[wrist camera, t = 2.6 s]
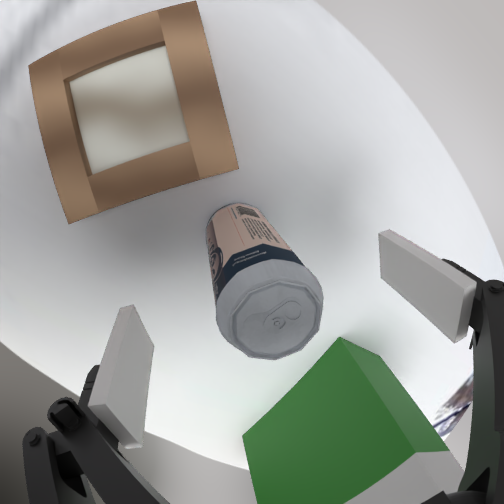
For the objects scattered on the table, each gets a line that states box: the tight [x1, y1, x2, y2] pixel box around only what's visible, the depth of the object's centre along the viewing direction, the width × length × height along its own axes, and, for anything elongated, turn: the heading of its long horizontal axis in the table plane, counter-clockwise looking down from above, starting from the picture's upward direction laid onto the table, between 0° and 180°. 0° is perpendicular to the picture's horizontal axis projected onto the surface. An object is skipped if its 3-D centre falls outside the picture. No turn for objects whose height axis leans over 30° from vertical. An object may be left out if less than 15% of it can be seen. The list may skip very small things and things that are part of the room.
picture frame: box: [28, 1, 239, 224], centre depth 17 cm, size 12×12×3 cm
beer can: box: [206, 203, 323, 360], centre depth 18 cm, size 5×5×12 cm
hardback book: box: [242, 337, 464, 504], centre depth 21 cm, size 18×7×24 cm, turn 145°
